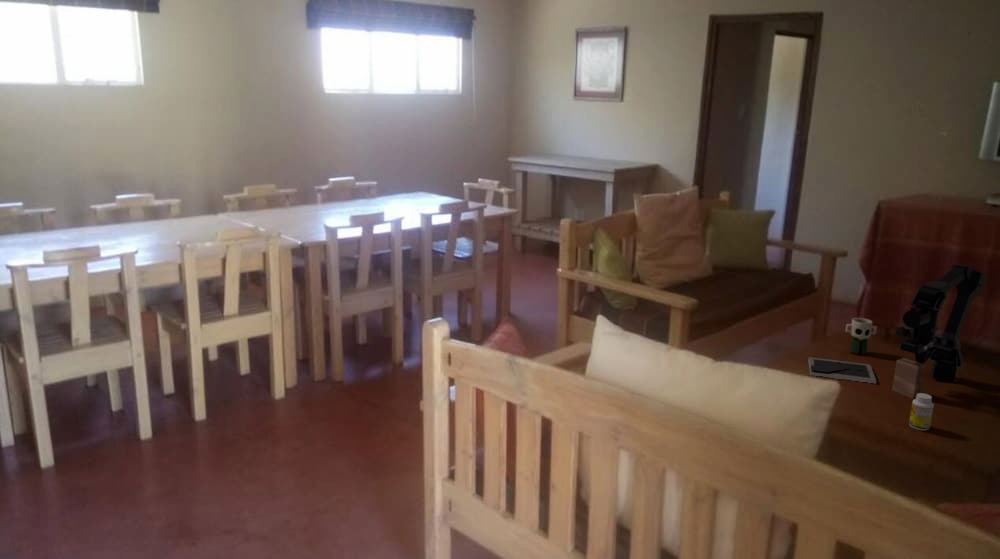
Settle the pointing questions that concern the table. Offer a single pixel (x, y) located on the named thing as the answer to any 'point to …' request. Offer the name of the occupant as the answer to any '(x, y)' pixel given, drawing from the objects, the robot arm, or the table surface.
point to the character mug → (860, 334)
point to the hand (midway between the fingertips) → (919, 367)
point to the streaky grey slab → (908, 377)
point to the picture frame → (841, 370)
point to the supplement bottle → (921, 412)
